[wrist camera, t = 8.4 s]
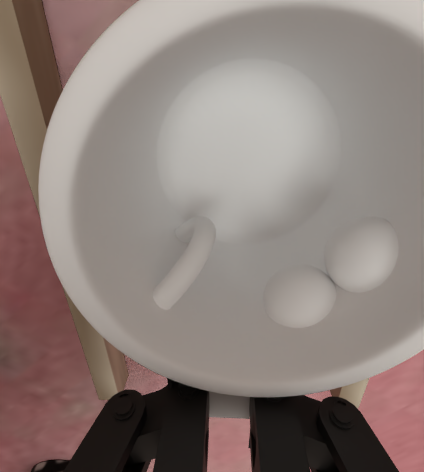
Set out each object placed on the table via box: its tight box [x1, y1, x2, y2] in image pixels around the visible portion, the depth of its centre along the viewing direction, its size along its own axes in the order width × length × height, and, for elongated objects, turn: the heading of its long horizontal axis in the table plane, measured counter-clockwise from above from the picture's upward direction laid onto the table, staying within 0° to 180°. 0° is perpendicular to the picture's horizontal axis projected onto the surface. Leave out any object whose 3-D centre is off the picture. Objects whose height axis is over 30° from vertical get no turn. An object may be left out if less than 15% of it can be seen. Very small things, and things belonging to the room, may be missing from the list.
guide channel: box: [0, 0, 369, 408], centre depth 12 cm, size 18×30×5 cm, turn 1°
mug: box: [38, 0, 424, 397], centre depth 10 cm, size 12×10×9 cm
